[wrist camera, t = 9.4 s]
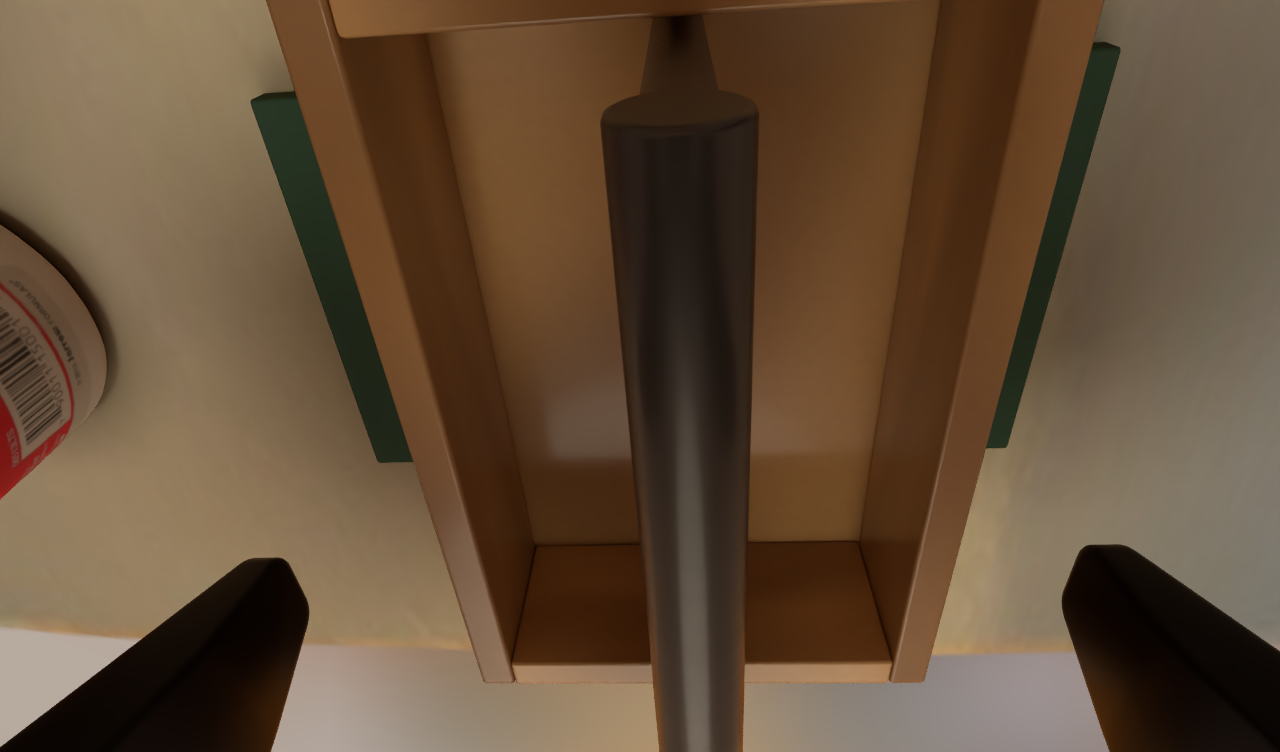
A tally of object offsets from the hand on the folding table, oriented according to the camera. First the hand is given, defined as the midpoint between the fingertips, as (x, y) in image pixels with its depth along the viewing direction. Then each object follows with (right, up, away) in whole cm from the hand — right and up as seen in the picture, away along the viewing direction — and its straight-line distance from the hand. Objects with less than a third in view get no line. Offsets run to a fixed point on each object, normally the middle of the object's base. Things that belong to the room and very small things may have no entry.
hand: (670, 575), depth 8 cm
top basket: (+1, +3, +6) cm, 7 cm away
